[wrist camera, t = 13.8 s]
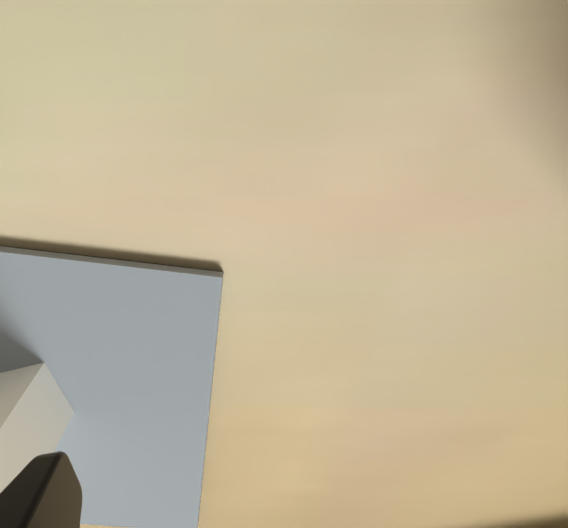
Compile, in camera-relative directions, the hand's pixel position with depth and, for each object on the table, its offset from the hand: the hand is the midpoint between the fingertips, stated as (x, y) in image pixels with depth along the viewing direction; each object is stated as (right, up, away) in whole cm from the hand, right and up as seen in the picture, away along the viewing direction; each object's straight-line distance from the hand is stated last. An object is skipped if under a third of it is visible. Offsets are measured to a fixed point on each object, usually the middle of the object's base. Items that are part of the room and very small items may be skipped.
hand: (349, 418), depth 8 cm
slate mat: (-15, -4, +15) cm, 21 cm away
